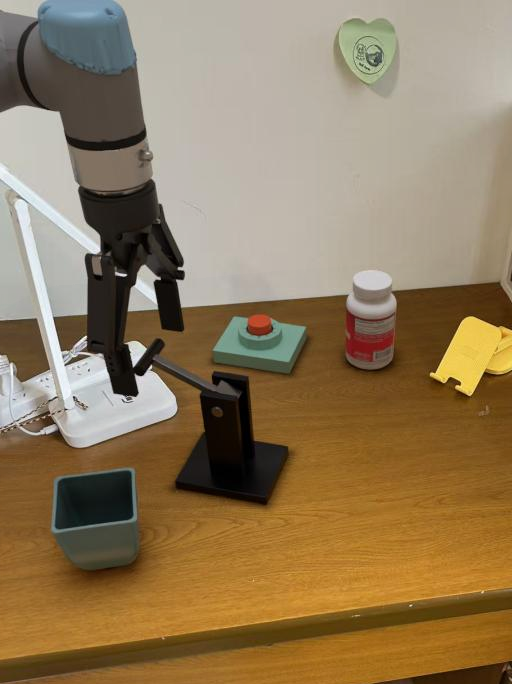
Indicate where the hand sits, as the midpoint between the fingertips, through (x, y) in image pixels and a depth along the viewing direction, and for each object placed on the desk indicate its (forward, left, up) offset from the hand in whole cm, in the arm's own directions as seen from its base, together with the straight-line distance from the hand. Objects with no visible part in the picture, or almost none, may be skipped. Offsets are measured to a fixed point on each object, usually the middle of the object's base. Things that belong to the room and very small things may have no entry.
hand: (151, 360), depth 91 cm
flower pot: (+5, -16, -16) cm, 23 cm away
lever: (+4, +1, -3) cm, 5 cm away
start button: (-6, +27, -12) cm, 30 cm away
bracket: (+8, +3, -16) cm, 18 cm away
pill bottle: (+9, +35, -16) cm, 40 cm away
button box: (-6, +27, -16) cm, 32 cm away
